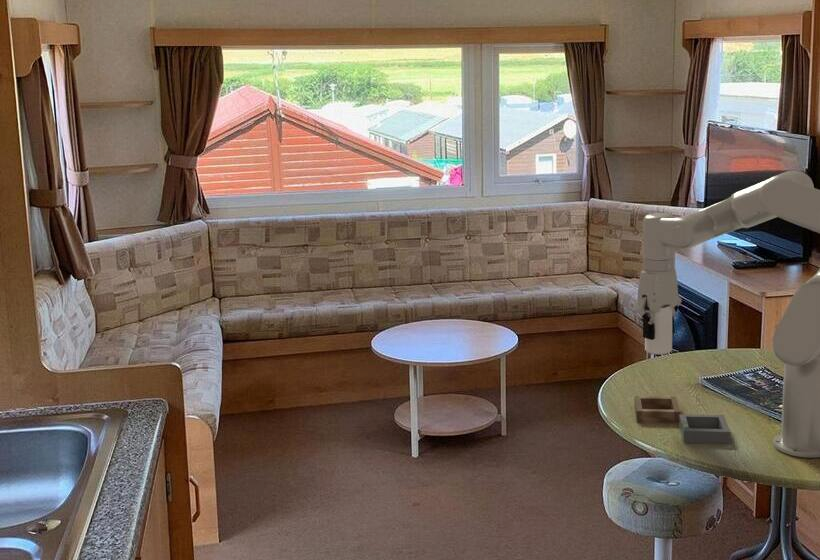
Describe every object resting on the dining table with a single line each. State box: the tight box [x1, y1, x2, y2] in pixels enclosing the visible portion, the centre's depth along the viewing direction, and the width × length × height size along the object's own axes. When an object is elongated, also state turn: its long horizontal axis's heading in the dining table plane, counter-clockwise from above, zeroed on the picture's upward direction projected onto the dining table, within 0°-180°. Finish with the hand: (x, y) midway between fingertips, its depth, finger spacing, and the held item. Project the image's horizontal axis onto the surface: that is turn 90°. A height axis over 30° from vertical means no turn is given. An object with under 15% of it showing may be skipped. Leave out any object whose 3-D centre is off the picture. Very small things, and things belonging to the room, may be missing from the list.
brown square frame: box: [633, 395, 681, 424], centre depth 238 cm, size 10×10×3 cm
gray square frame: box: [678, 413, 731, 445], centre depth 225 cm, size 10×10×4 cm
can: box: [644, 305, 673, 356], centre depth 233 cm, size 6×6×12 cm
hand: (658, 334), depth 233 cm, fingers closed on can, 6 cm apart
